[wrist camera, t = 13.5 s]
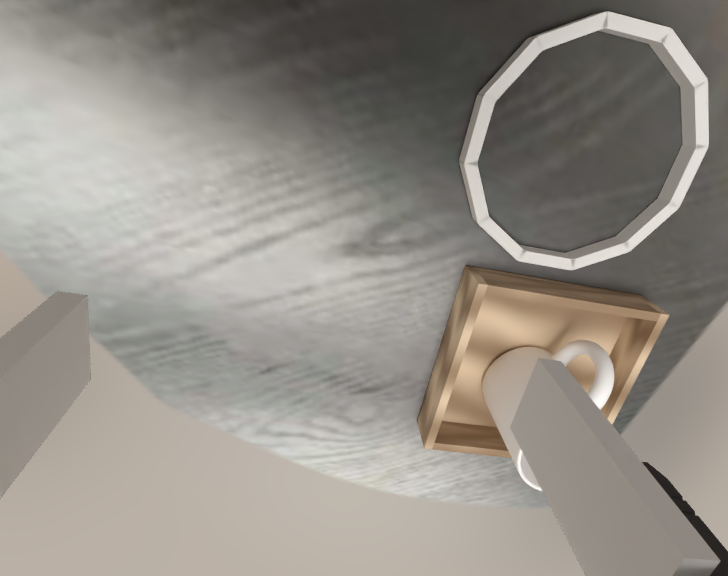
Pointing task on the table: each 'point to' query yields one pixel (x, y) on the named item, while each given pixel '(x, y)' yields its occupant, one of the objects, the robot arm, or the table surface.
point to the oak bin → (527, 329)
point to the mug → (512, 378)
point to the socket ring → (679, 175)
